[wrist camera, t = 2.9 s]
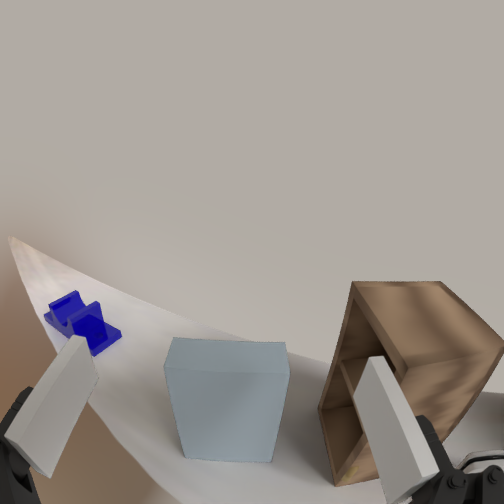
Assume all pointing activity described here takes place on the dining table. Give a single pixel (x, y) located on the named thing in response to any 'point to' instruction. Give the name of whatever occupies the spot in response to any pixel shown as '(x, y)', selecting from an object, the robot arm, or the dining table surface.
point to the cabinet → (404, 364)
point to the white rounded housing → (481, 461)
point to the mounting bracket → (82, 322)
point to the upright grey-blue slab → (227, 397)
